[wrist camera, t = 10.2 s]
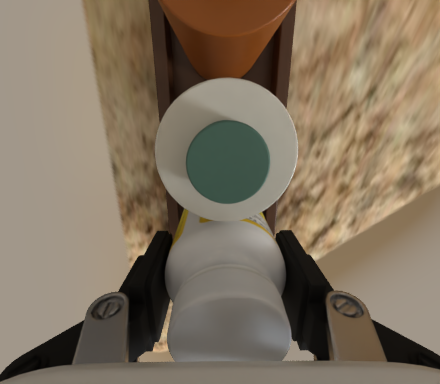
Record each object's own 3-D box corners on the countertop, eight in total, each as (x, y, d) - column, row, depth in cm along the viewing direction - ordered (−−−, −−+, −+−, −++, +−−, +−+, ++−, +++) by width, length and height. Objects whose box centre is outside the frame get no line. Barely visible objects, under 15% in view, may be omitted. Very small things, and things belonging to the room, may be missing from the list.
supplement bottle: (211, 254, 17) (202, 415, 8) (171, 201, 16) (102, 324, 6) (270, 222, 16) (341, 361, 7) (234, 162, 15) (263, 240, 5)
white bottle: (176, 121, 15) (106, 128, 6) (236, 86, 15) (272, 26, 5) (209, 178, 17) (197, 262, 7) (265, 149, 16) (337, 198, 6)
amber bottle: (170, 23, 13) (45, -219, 4) (239, -23, 13) (306, -471, 3) (207, 97, 15) (187, 61, 5) (271, 60, 14) (388, -65, 4)
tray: (155, -26, 13) (143, -52, 11) (289, -26, 13) (302, -51, 11) (176, 243, 19) (171, 257, 17) (267, 243, 19) (272, 257, 17)
